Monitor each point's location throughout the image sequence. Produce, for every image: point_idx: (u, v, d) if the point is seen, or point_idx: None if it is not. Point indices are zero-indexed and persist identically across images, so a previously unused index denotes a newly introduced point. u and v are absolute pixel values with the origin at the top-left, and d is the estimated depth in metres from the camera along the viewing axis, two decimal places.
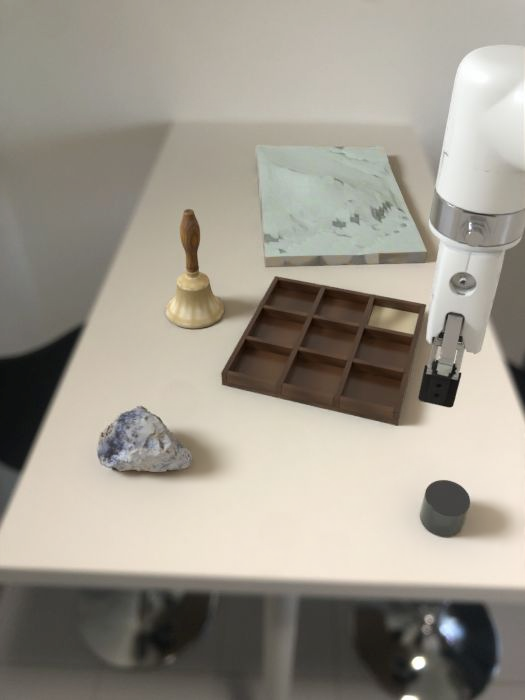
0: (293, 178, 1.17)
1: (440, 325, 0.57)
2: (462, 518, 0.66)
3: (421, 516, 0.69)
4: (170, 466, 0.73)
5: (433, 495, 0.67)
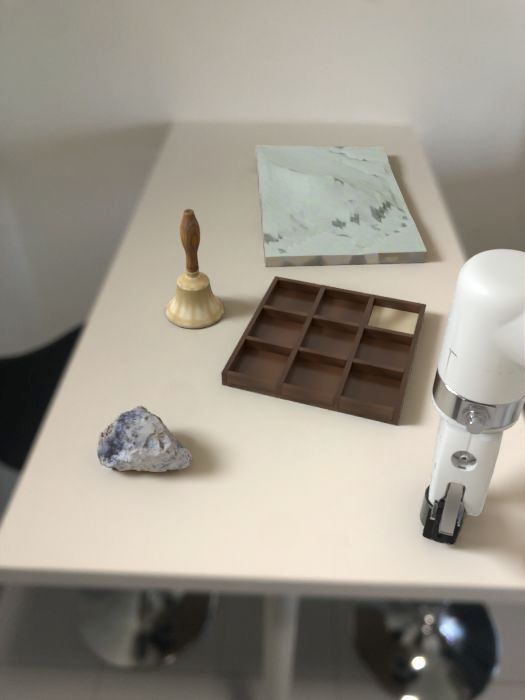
0: (293, 178, 1.17)
1: (442, 491, 0.59)
2: None
3: (421, 516, 0.69)
4: (170, 466, 0.73)
5: None
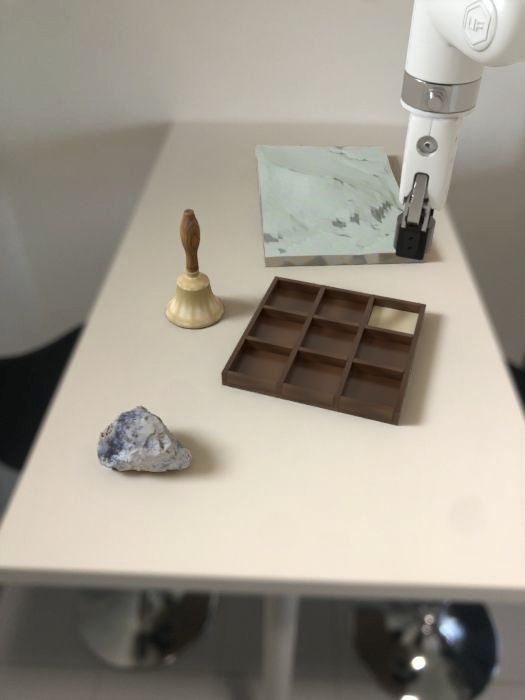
0: (293, 178, 1.17)
1: (410, 185, 0.70)
2: (428, 235, 0.77)
3: (394, 242, 0.79)
4: (170, 466, 0.73)
5: None
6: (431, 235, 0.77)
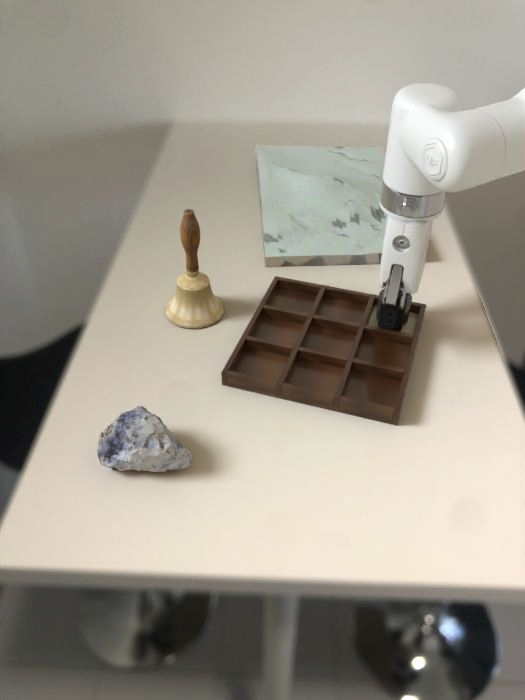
0: (293, 178, 1.17)
1: (387, 273, 0.82)
2: (406, 310, 0.89)
3: (376, 314, 0.92)
4: (170, 466, 0.73)
5: None
6: (408, 310, 0.90)
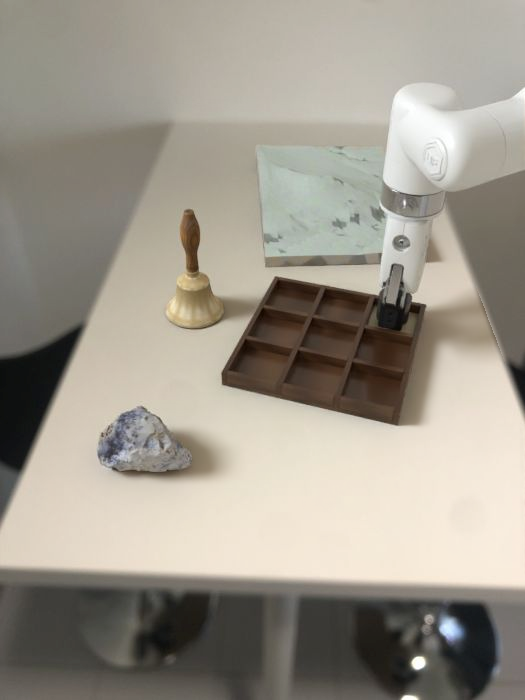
0: (293, 178, 1.17)
1: (387, 273, 0.82)
2: (406, 309, 0.89)
3: (376, 314, 0.91)
4: (170, 467, 0.73)
5: None
6: (408, 309, 0.89)
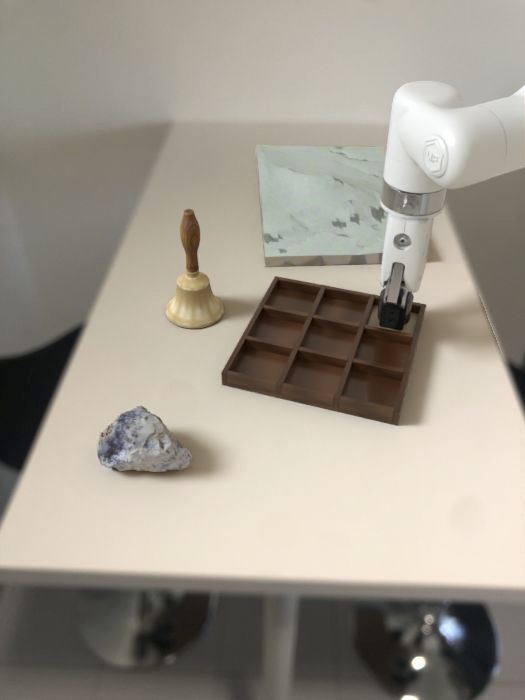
0: (293, 178, 1.17)
1: (388, 272, 0.82)
2: (407, 309, 0.89)
3: (378, 313, 0.91)
4: (170, 466, 0.73)
5: None
6: (410, 309, 0.89)
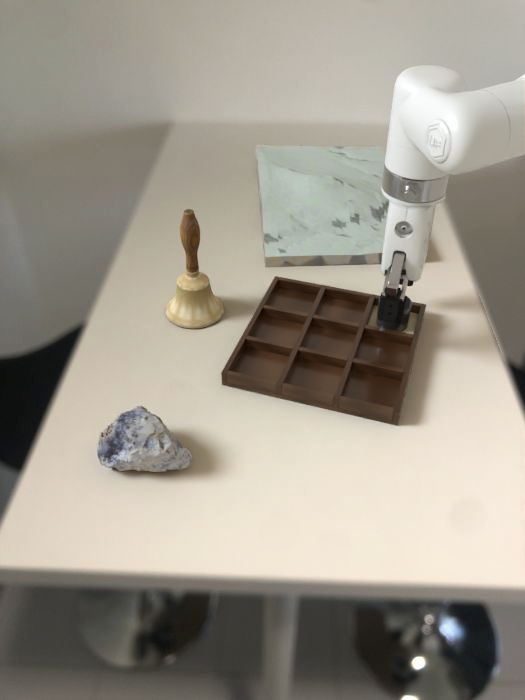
0: (293, 178, 1.17)
1: (389, 260, 0.81)
2: (405, 315, 0.89)
3: (376, 319, 0.92)
4: (170, 466, 0.73)
5: None
6: (408, 315, 0.90)
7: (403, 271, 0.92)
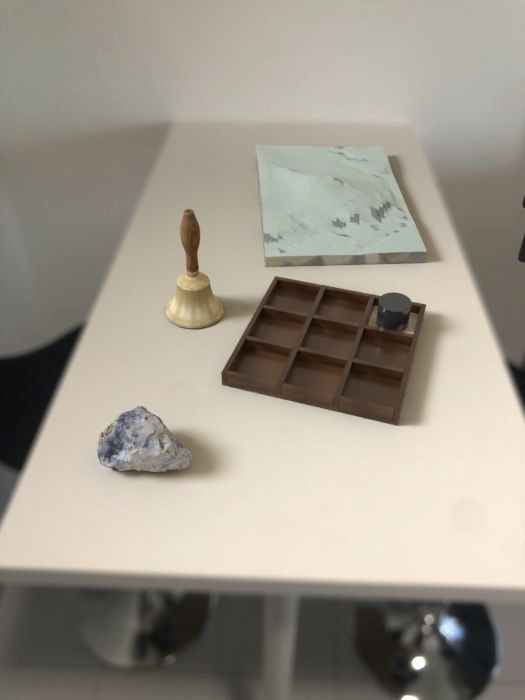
0: (293, 178, 1.17)
1: None
2: (405, 315, 0.89)
3: (376, 319, 0.92)
4: (170, 466, 0.73)
5: (384, 300, 0.90)
6: (408, 315, 0.90)
7: None
